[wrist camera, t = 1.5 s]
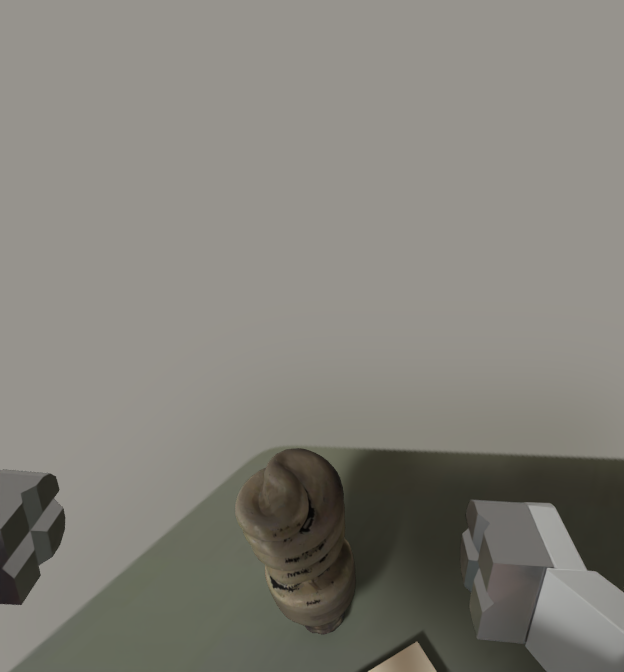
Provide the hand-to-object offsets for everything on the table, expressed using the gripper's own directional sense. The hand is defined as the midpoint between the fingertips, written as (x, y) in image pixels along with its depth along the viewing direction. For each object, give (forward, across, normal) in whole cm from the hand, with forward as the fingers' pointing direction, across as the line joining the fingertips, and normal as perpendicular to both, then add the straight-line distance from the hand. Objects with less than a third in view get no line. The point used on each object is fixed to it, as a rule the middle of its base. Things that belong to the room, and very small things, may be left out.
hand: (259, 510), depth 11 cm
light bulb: (+16, -1, +24) cm, 29 cm away
